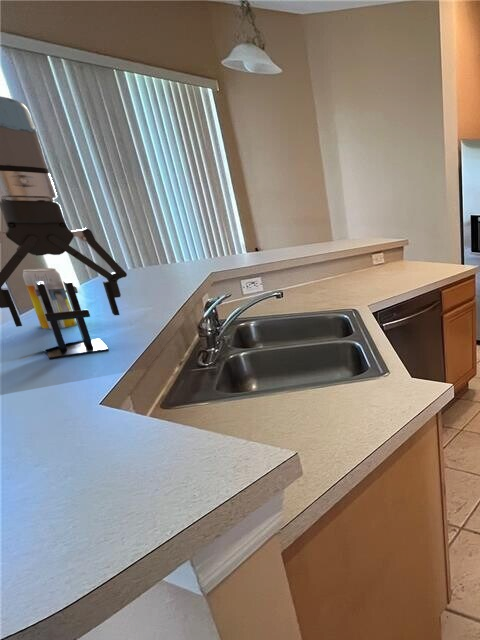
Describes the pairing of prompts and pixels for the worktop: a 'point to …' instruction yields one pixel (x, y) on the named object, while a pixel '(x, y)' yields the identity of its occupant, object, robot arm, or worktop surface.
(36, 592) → the worktop surface
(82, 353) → the black stand frame
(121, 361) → the worktop surface
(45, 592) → the worktop surface
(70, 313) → the lever
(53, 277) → the yellow pill bottle
